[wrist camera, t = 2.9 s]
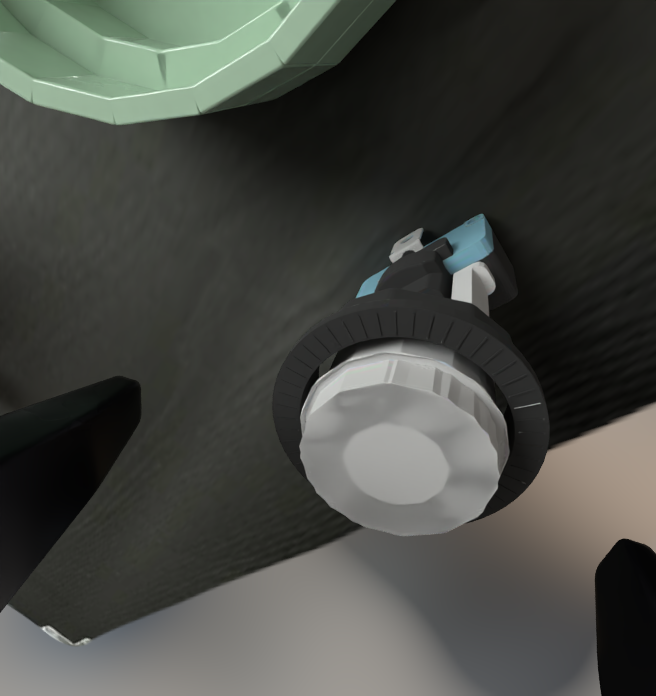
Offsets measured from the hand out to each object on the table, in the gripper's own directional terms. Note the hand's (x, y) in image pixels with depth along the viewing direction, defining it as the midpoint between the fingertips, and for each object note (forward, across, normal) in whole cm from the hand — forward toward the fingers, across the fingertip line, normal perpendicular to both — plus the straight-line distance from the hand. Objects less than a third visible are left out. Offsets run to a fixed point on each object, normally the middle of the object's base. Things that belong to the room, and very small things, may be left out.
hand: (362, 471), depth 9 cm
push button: (+10, 0, 0) cm, 10 cm away
